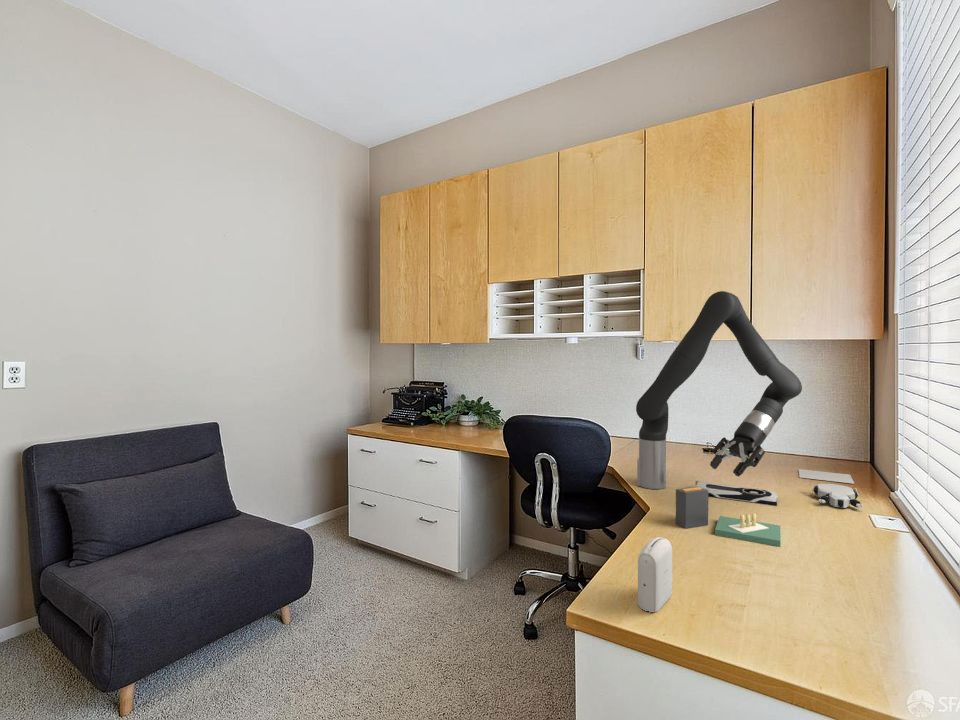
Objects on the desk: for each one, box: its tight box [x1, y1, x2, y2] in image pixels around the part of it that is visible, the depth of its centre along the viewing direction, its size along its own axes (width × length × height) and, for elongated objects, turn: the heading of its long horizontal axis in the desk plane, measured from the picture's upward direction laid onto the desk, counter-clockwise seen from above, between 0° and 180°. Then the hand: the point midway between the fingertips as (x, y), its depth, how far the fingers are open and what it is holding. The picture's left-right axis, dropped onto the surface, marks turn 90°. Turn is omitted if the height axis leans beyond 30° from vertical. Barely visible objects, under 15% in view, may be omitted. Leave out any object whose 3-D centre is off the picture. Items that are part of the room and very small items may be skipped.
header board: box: [714, 512, 781, 548], centre depth 132 cm, size 15×12×5 cm
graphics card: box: [694, 480, 779, 507], centre depth 163 cm, size 10×3×25 cm
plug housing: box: [675, 486, 709, 530], centre depth 138 cm, size 8×4×10 cm, turn 108°
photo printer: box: [637, 536, 673, 613], centre depth 98 cm, size 10×4×12 cm, turn 140°
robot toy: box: [811, 483, 864, 509], centre depth 156 cm, size 12×4×15 cm
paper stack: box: [798, 468, 855, 485], centre depth 184 cm, size 23×25×1 cm
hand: (723, 470), depth 142 cm, fingers open, 8 cm apart
